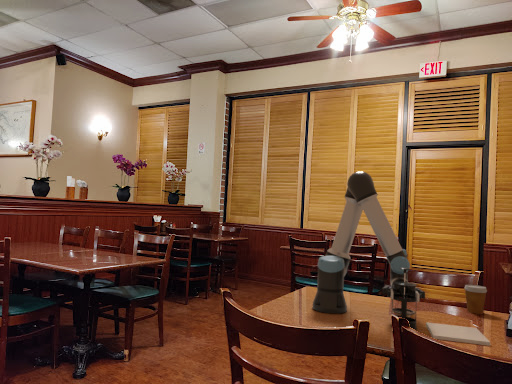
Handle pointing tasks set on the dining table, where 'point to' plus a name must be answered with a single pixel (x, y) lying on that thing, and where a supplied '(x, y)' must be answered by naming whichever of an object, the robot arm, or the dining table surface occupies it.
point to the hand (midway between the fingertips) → (405, 296)
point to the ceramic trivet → (457, 333)
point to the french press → (405, 300)
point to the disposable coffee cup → (475, 298)
